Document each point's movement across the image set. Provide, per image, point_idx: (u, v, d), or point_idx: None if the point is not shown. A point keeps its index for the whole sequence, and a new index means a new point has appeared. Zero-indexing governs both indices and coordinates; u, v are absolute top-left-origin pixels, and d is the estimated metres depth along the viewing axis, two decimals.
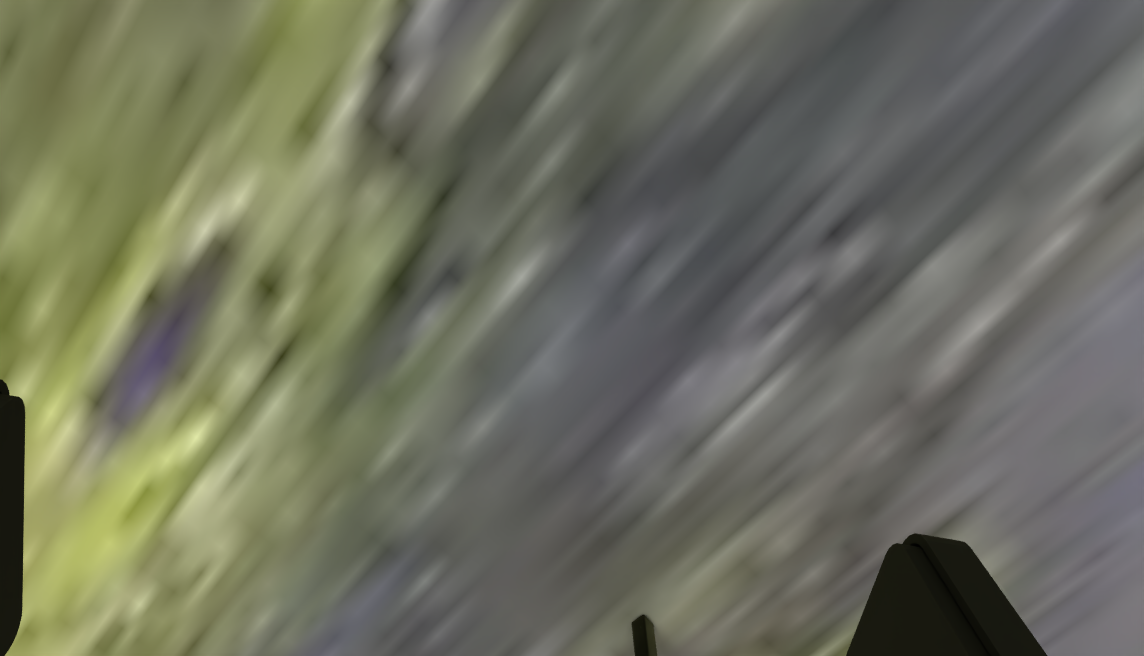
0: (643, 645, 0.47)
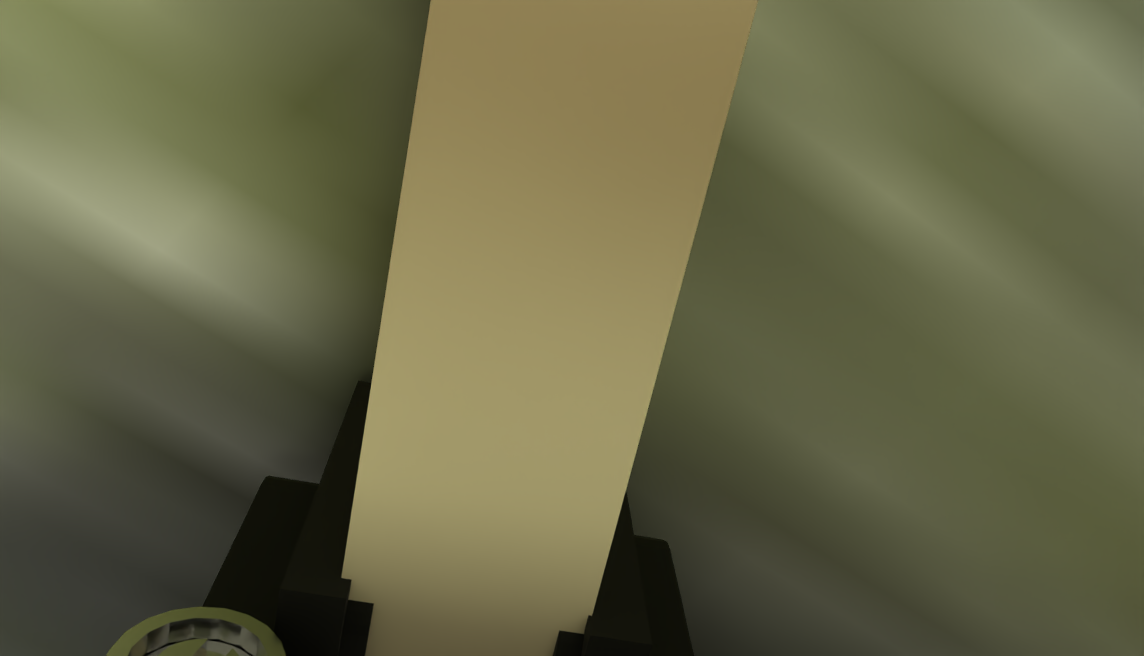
0: None
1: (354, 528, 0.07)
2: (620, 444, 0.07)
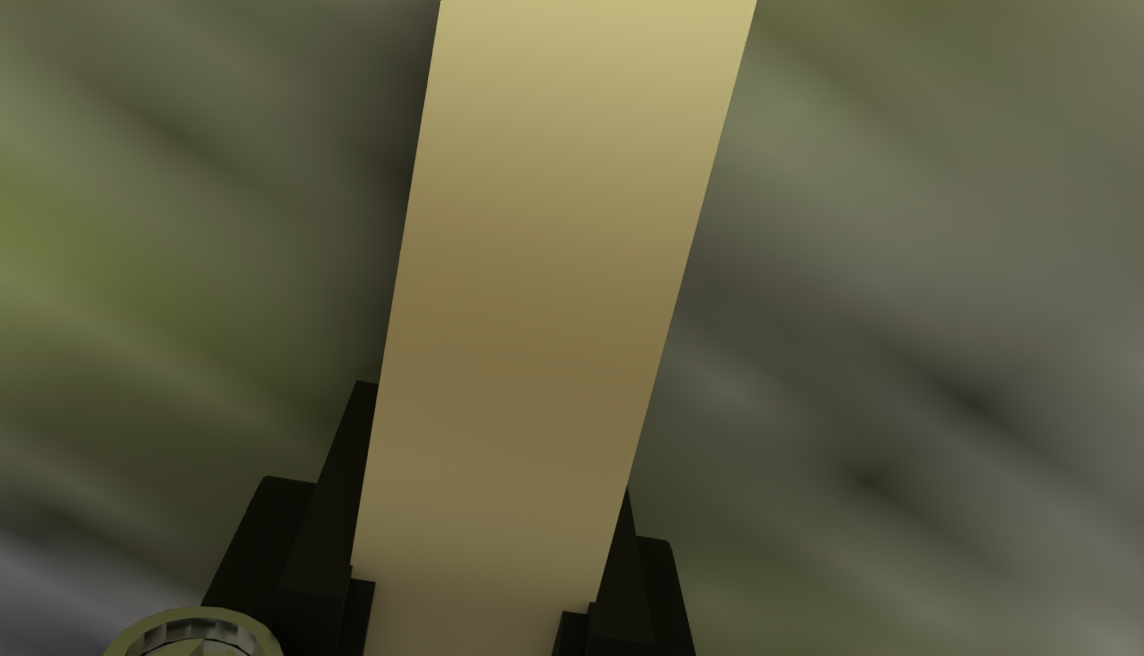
0: None
1: None
2: None
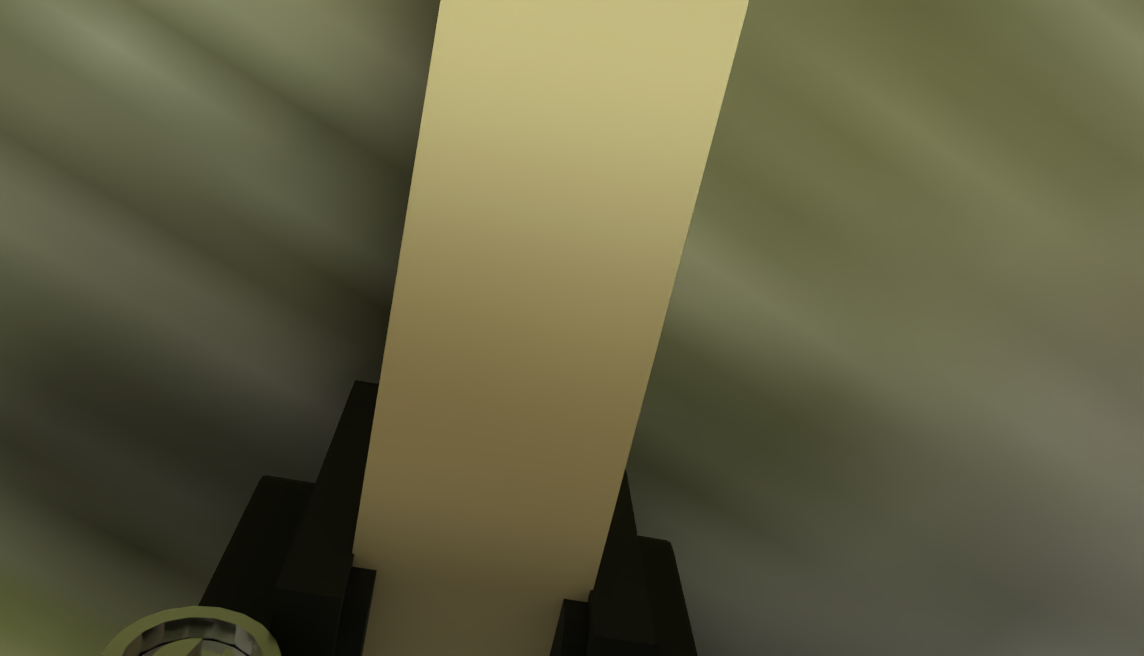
0: None
1: None
2: None
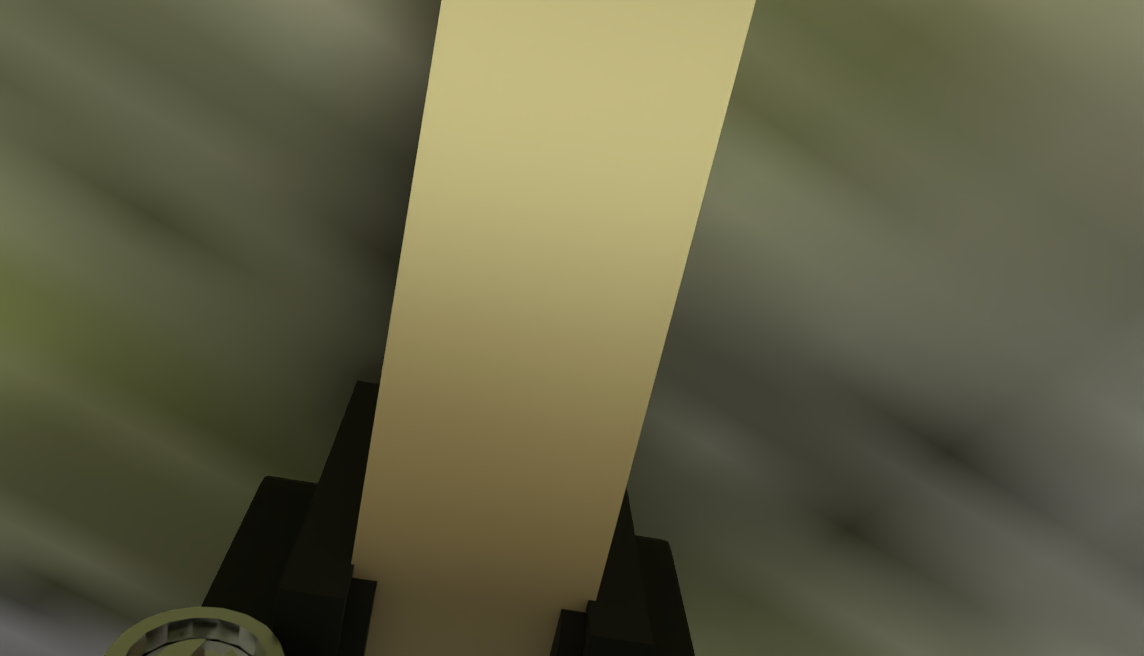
0: None
1: None
2: None
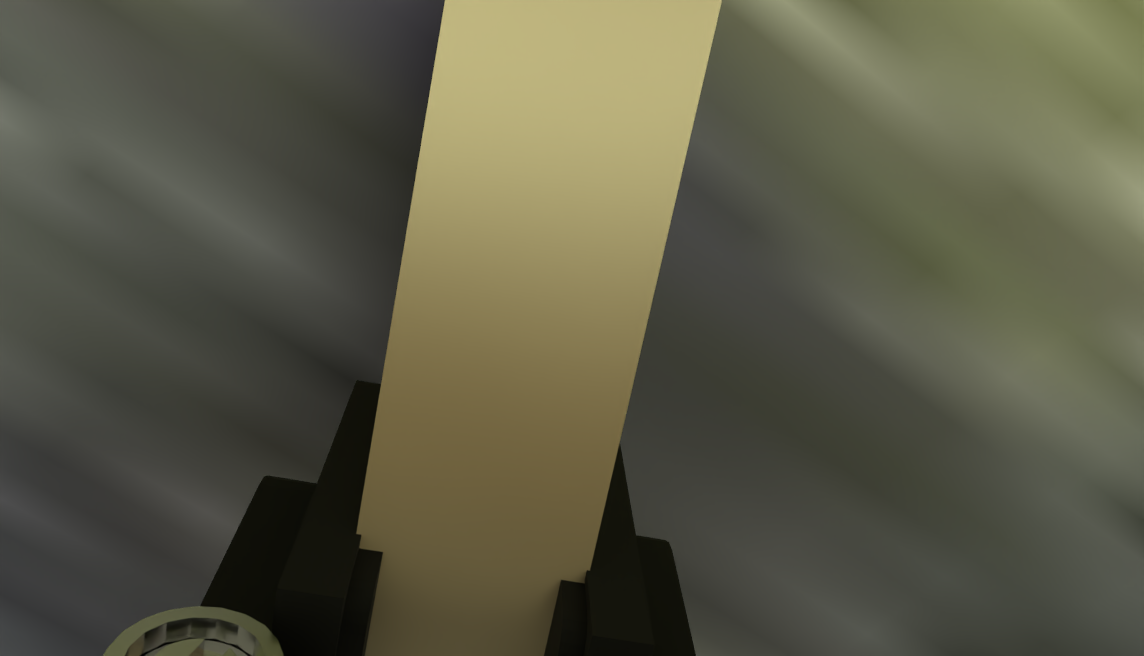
0: None
1: None
2: None
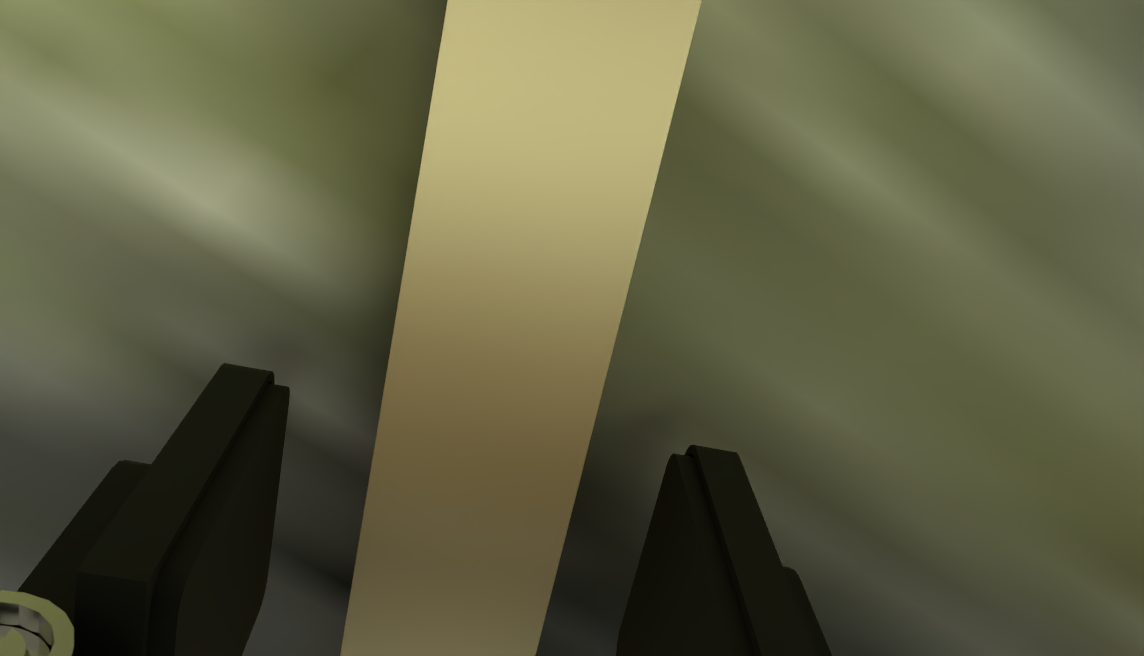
0: None
1: None
2: None
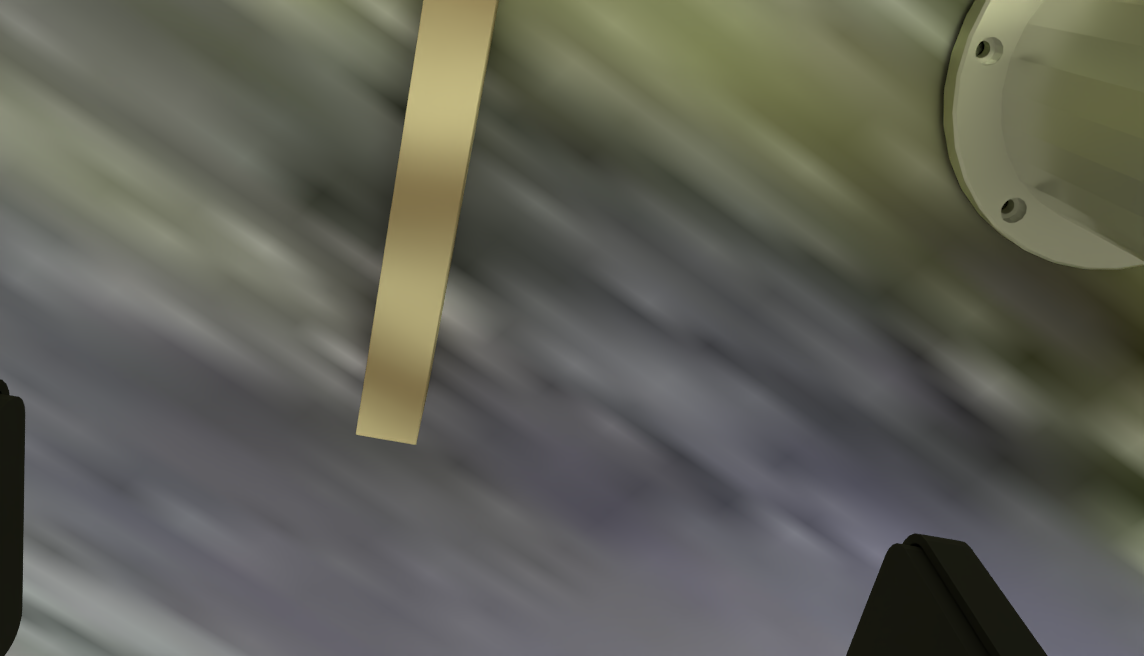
0: None
1: (409, 101, 0.29)
2: (477, 78, 0.29)
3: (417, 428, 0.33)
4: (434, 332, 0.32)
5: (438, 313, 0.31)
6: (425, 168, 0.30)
